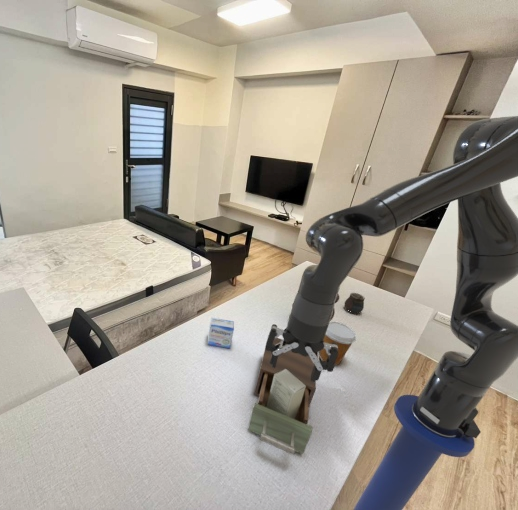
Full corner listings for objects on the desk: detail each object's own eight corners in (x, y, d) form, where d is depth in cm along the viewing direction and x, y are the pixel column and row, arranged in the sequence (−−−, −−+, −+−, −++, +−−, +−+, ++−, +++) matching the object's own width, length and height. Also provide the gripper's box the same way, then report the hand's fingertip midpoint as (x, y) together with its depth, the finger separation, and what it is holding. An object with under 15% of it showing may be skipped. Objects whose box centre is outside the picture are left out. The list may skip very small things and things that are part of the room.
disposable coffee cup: (336, 372, 88) (347, 343, 83) (309, 354, 95) (318, 325, 90) (350, 362, 93) (362, 333, 88) (324, 345, 100) (334, 317, 96)
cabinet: (305, 415, 73) (315, 388, 69) (253, 394, 78) (260, 368, 74) (306, 374, 86) (315, 350, 82) (262, 358, 91) (268, 334, 87)
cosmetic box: (295, 422, 68) (307, 386, 64) (282, 430, 66) (295, 393, 62) (275, 402, 73) (286, 367, 69) (263, 409, 71) (273, 373, 67)
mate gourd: (356, 307, 127) (364, 288, 123) (364, 317, 120) (372, 297, 116) (340, 305, 127) (347, 286, 123) (347, 314, 120) (354, 295, 116)
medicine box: (207, 345, 95) (210, 324, 92) (208, 336, 99) (211, 316, 96) (230, 349, 94) (234, 328, 91) (230, 340, 98) (233, 320, 95)
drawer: (302, 475, 59) (312, 451, 55) (243, 447, 63) (250, 423, 60) (304, 404, 75) (312, 383, 72) (258, 385, 79) (263, 365, 76)
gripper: (273, 313, 57) (259, 371, 64) (350, 335, 52) (326, 396, 58) (277, 296, 64) (264, 351, 70) (346, 315, 59) (325, 372, 65)
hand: (292, 372), depth 64 cm, fingers open, 8 cm apart
